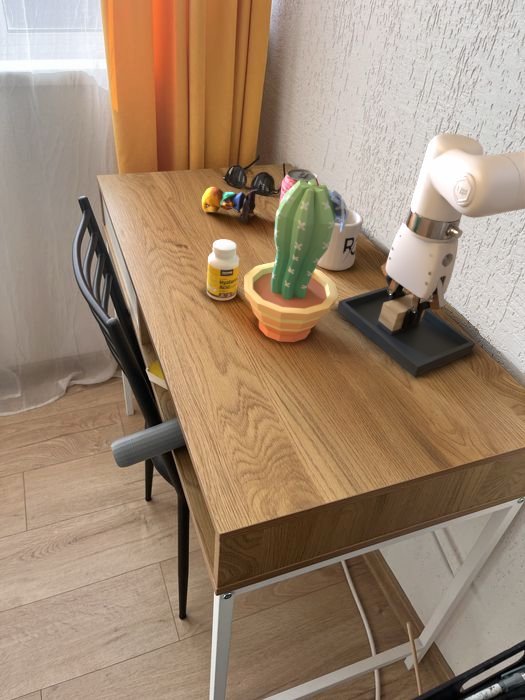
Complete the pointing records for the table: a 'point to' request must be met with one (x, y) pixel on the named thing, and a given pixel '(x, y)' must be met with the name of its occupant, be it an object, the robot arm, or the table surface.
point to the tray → (407, 334)
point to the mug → (342, 243)
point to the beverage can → (296, 179)
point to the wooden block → (395, 314)
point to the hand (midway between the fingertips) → (400, 319)
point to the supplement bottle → (222, 270)
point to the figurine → (229, 202)
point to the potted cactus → (297, 264)
